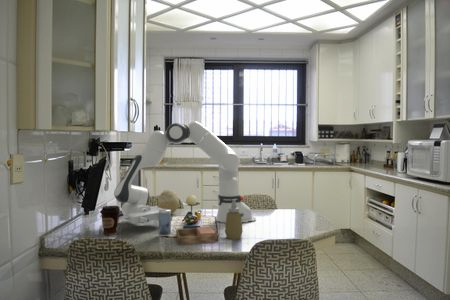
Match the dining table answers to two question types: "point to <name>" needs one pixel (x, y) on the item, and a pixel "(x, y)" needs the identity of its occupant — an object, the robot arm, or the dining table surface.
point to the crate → (194, 236)
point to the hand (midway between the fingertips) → (156, 218)
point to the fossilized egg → (168, 200)
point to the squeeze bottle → (233, 223)
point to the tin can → (164, 222)
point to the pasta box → (205, 231)
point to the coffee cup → (110, 219)
